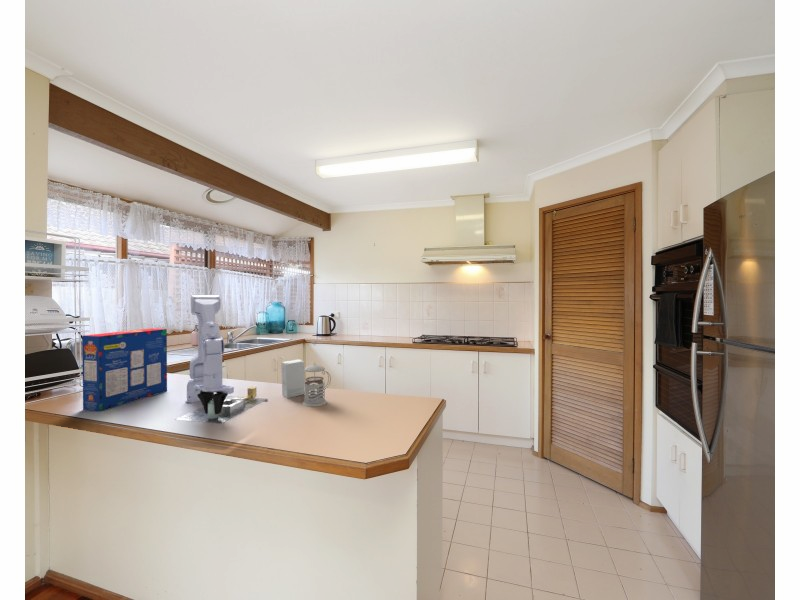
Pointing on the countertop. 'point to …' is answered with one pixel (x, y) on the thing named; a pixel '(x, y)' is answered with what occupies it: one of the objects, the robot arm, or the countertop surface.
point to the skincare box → (293, 378)
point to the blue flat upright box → (123, 367)
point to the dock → (224, 410)
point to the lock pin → (251, 393)
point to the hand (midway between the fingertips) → (213, 413)
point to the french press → (315, 386)
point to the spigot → (211, 410)
